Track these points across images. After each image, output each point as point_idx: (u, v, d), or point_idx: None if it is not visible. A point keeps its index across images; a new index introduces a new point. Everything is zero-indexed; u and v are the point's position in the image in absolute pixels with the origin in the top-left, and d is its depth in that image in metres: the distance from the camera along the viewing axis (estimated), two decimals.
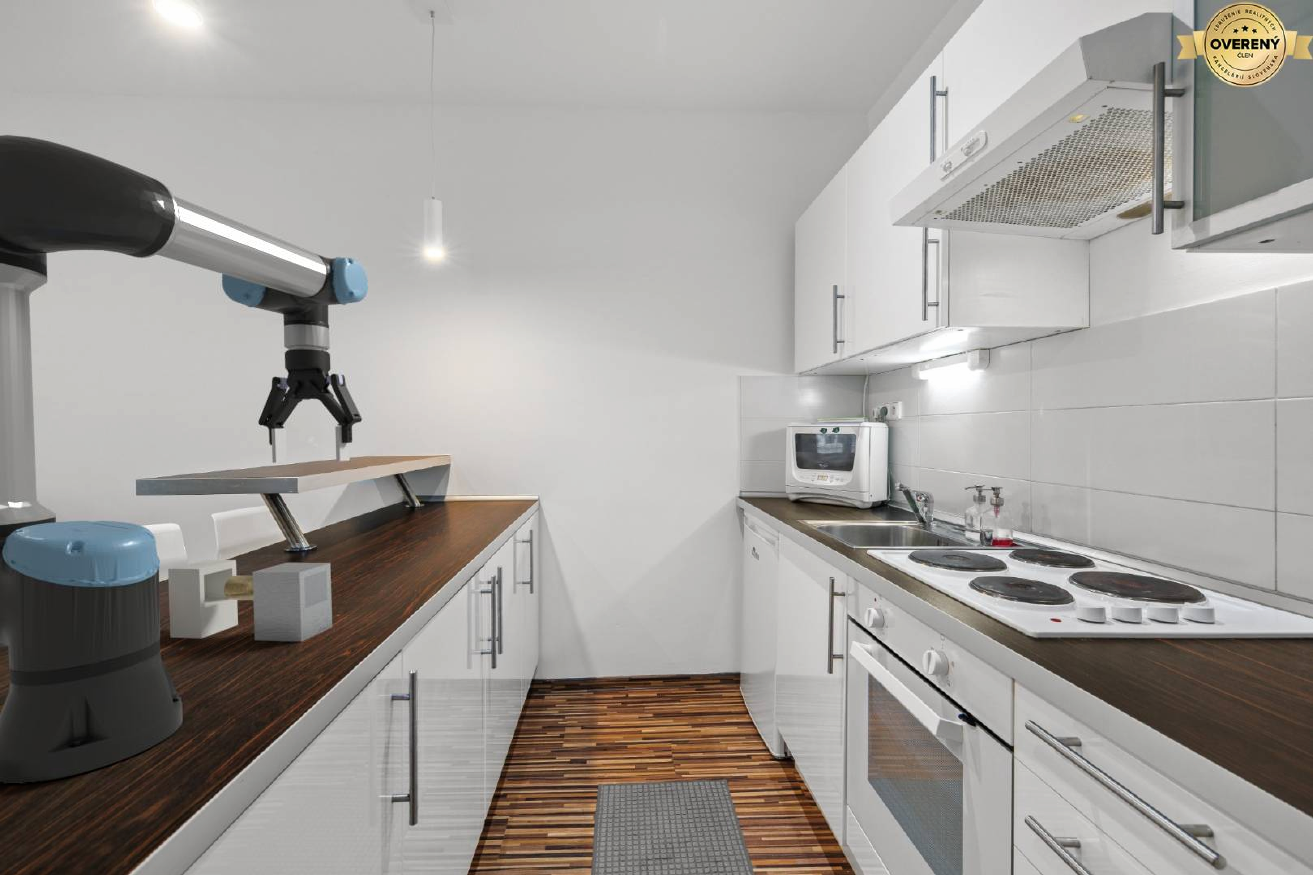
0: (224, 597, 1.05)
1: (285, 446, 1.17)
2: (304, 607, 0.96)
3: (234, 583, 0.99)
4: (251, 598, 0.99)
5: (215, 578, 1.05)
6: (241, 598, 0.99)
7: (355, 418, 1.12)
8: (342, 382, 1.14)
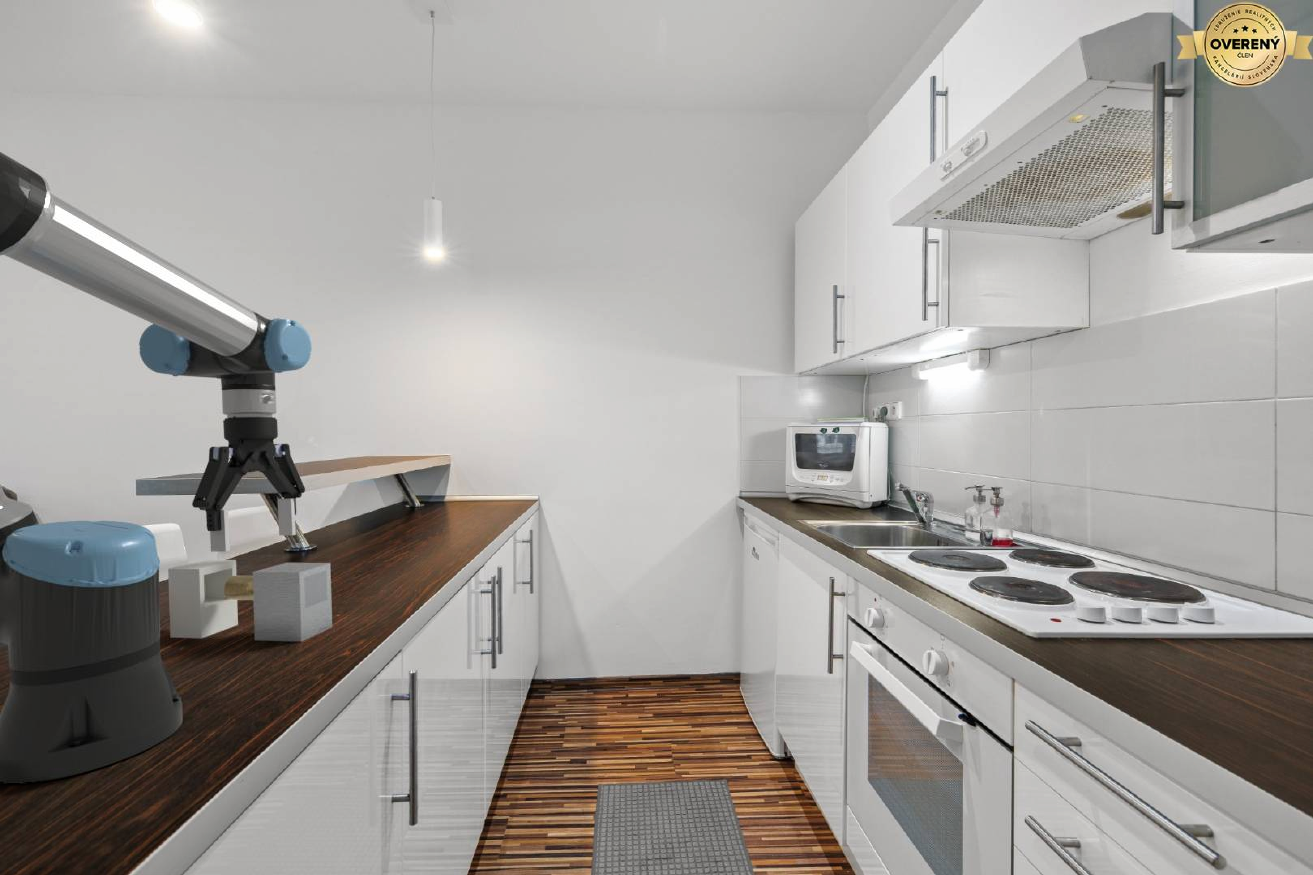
0: (224, 597, 1.05)
1: (290, 518, 1.07)
2: (304, 607, 0.96)
3: (234, 583, 0.99)
4: (251, 598, 0.99)
5: (215, 578, 1.05)
6: (241, 598, 0.99)
7: (195, 503, 0.91)
8: (218, 455, 0.94)
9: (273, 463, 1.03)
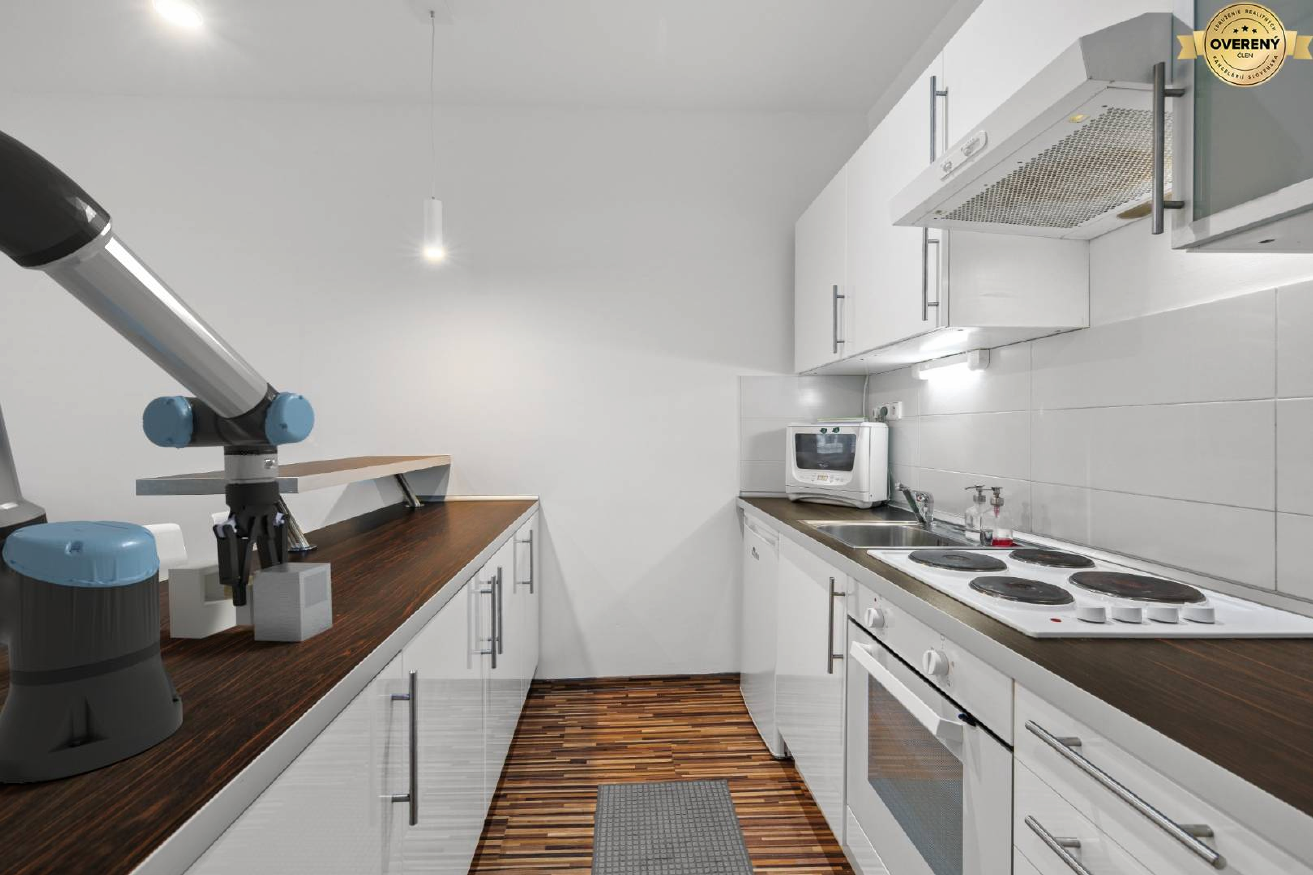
0: (224, 597, 1.05)
1: None
2: (304, 607, 0.96)
3: None
4: None
5: (215, 578, 1.05)
6: None
7: (223, 582, 0.95)
8: (224, 534, 0.94)
9: (270, 529, 1.02)
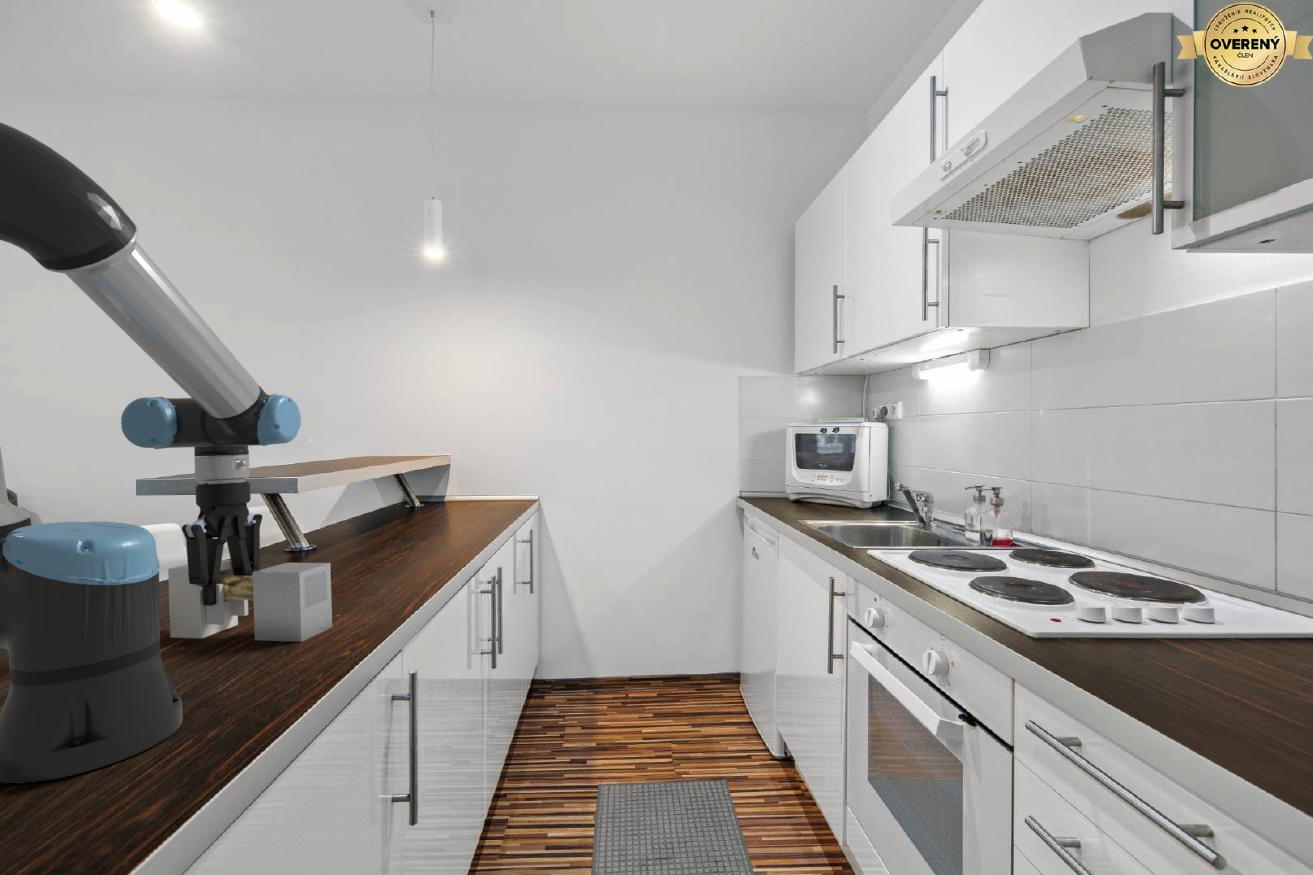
0: None
1: None
2: (304, 607, 0.96)
3: None
4: None
5: None
6: None
7: (192, 582, 0.96)
8: (193, 534, 0.95)
9: (241, 530, 1.03)
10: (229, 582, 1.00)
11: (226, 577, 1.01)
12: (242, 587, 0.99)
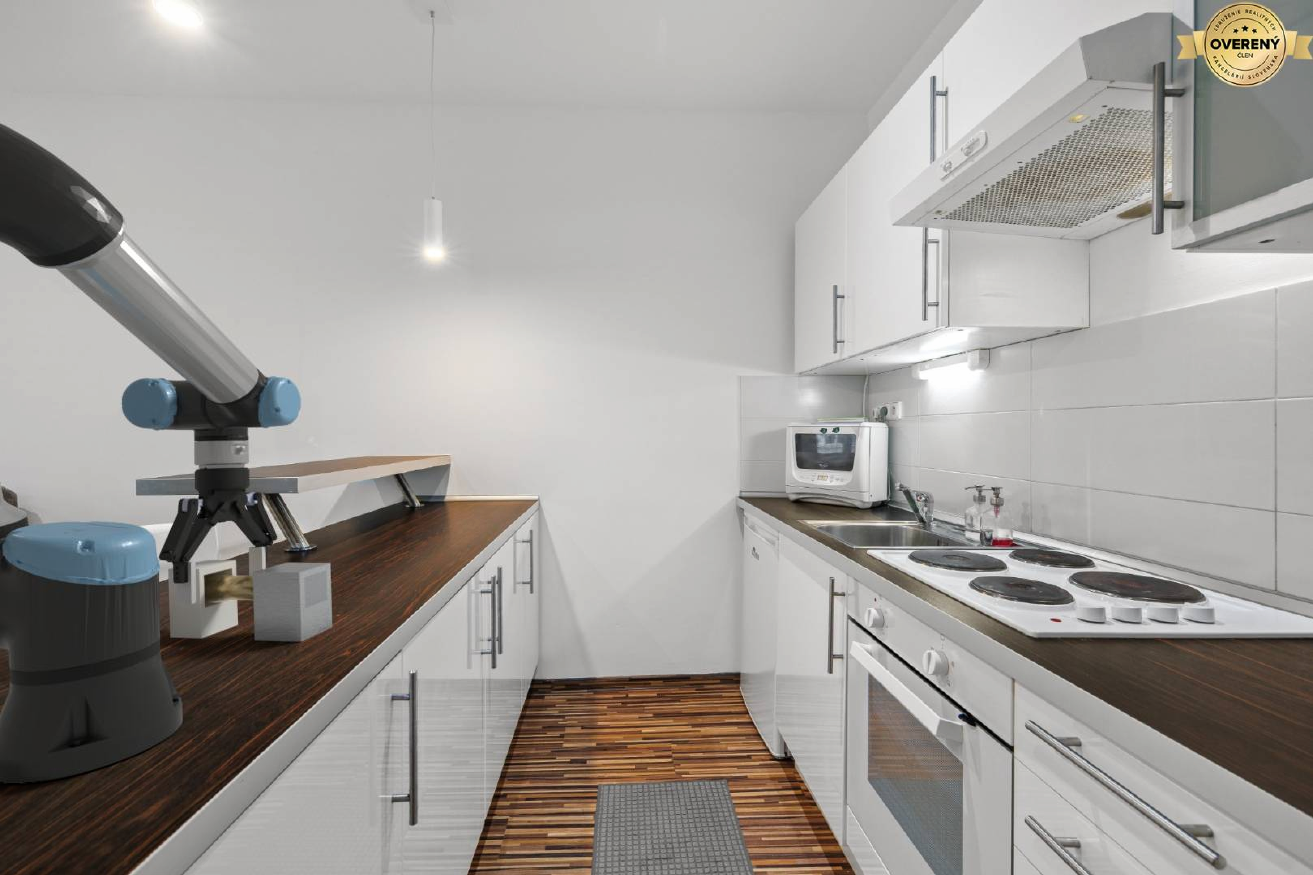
0: None
1: (261, 566, 1.07)
2: (304, 607, 0.96)
3: (205, 583, 1.00)
4: (221, 597, 1.00)
5: None
6: (211, 597, 1.00)
7: (162, 556, 0.91)
8: (187, 507, 0.94)
9: (244, 512, 1.03)
10: (229, 582, 1.00)
11: (226, 577, 1.01)
12: (242, 587, 0.99)
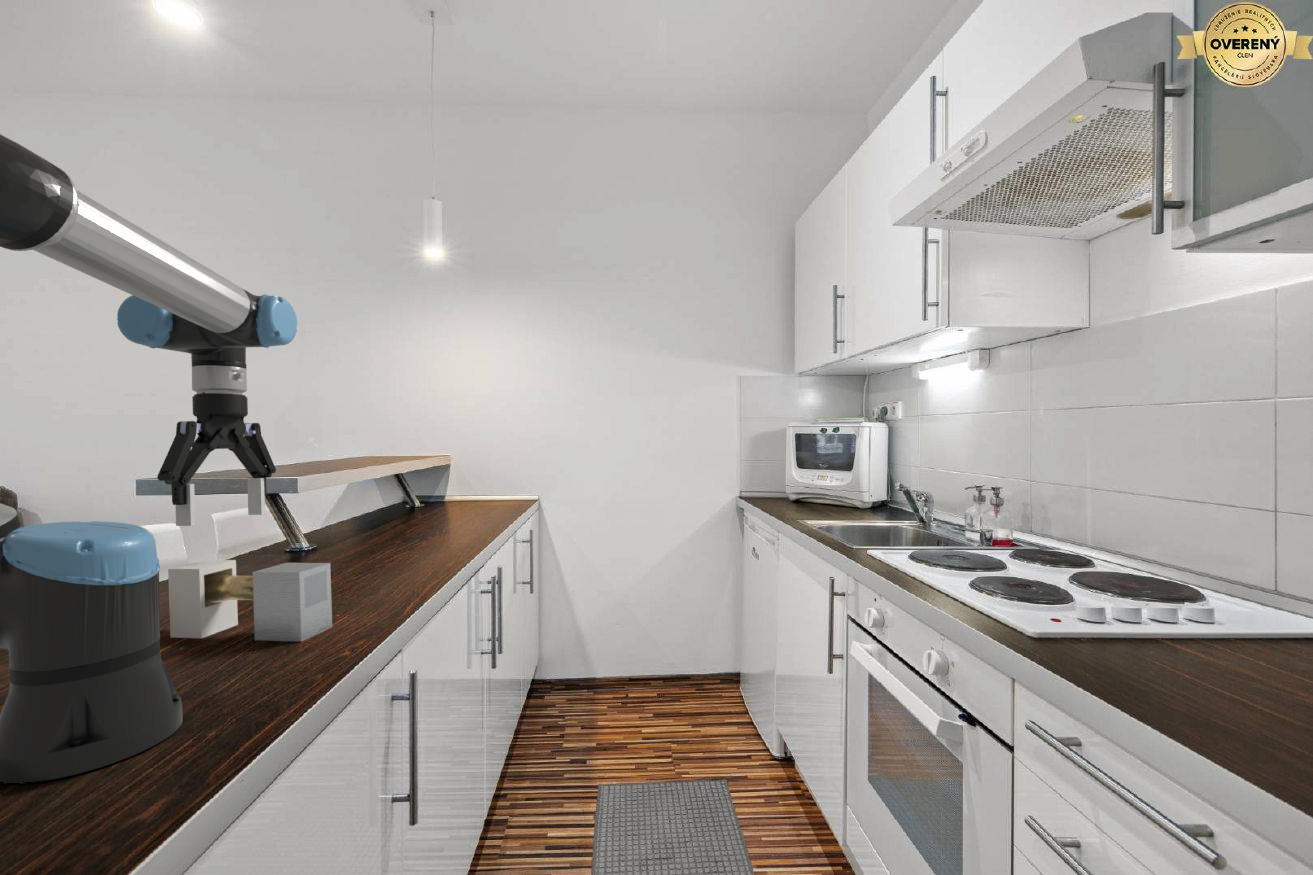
0: None
1: (259, 497, 1.07)
2: (304, 607, 0.96)
3: (205, 583, 1.00)
4: (221, 597, 1.00)
5: None
6: (211, 597, 1.00)
7: (161, 476, 0.91)
8: (185, 430, 0.94)
9: (242, 441, 1.03)
10: (229, 582, 1.00)
11: (226, 577, 1.01)
12: (242, 587, 0.99)
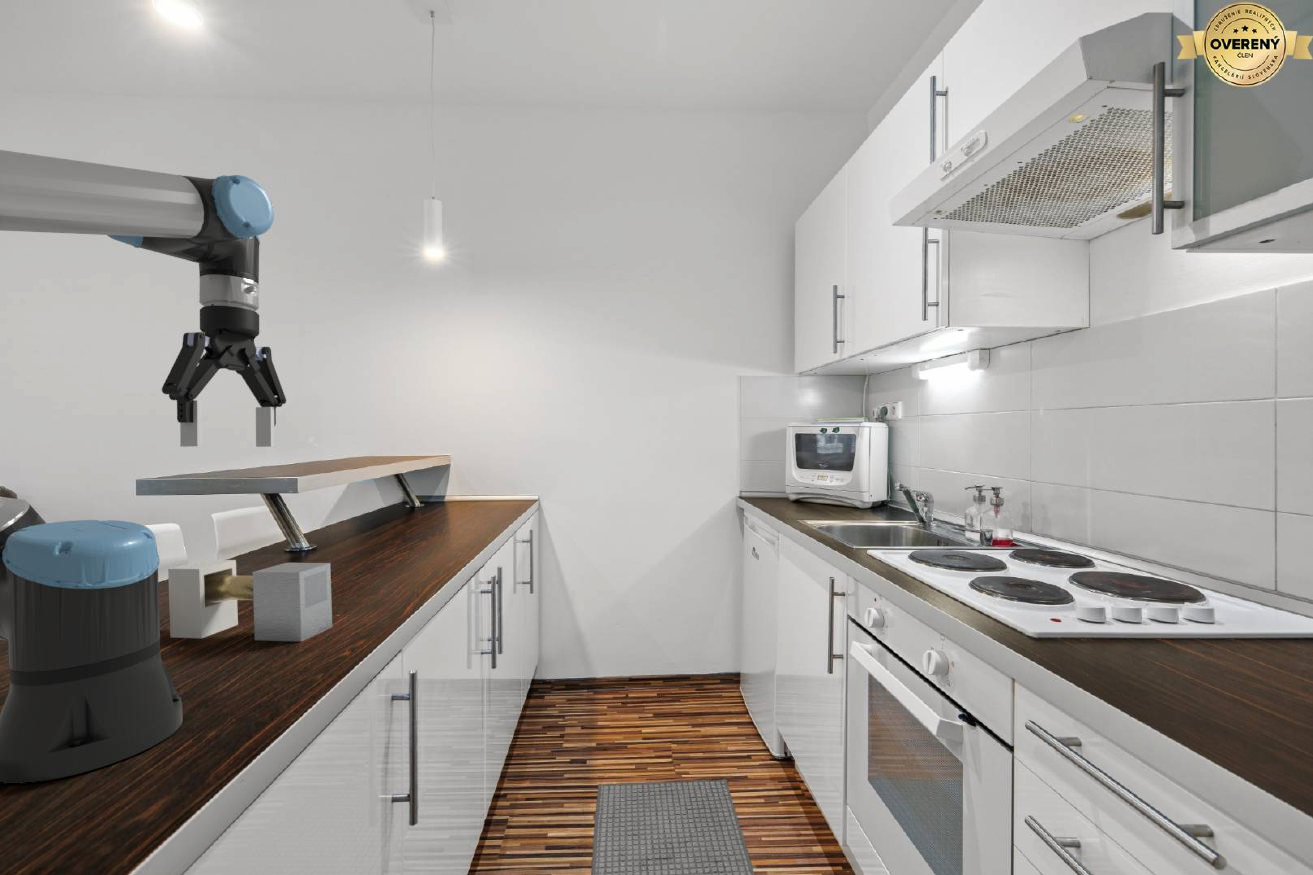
0: None
1: (269, 428, 0.98)
2: (304, 607, 0.96)
3: (205, 583, 1.00)
4: (221, 597, 1.00)
5: None
6: (211, 597, 1.00)
7: (166, 388, 0.82)
8: (193, 341, 0.86)
9: (253, 363, 0.95)
10: (229, 582, 1.00)
11: (226, 577, 1.01)
12: (242, 587, 0.99)
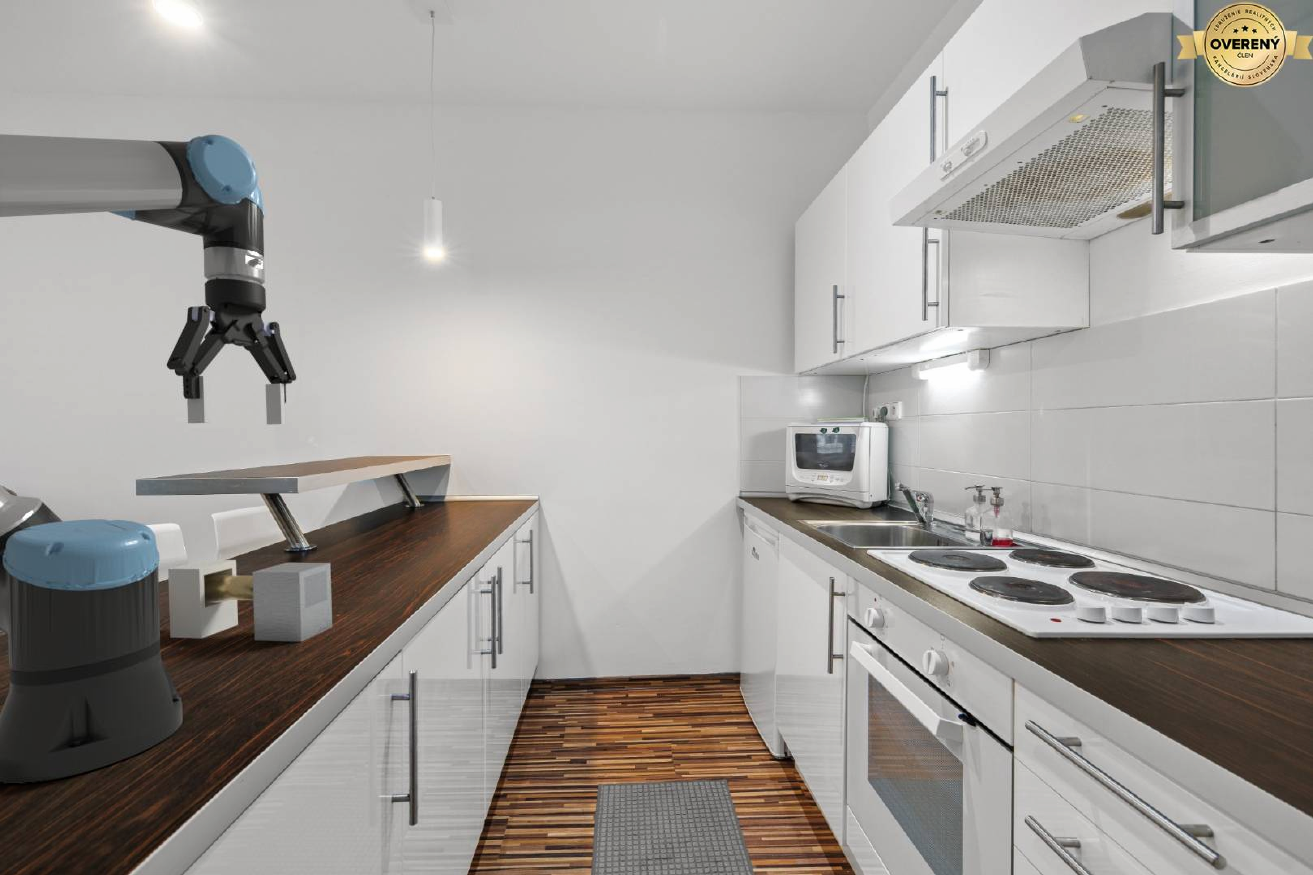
0: None
1: (279, 405, 0.96)
2: (304, 607, 0.96)
3: (205, 583, 1.00)
4: (221, 597, 1.00)
5: None
6: (211, 597, 1.00)
7: (170, 364, 0.80)
8: (197, 315, 0.83)
9: (260, 338, 0.92)
10: (229, 582, 1.00)
11: (226, 577, 1.01)
12: (242, 587, 0.99)
